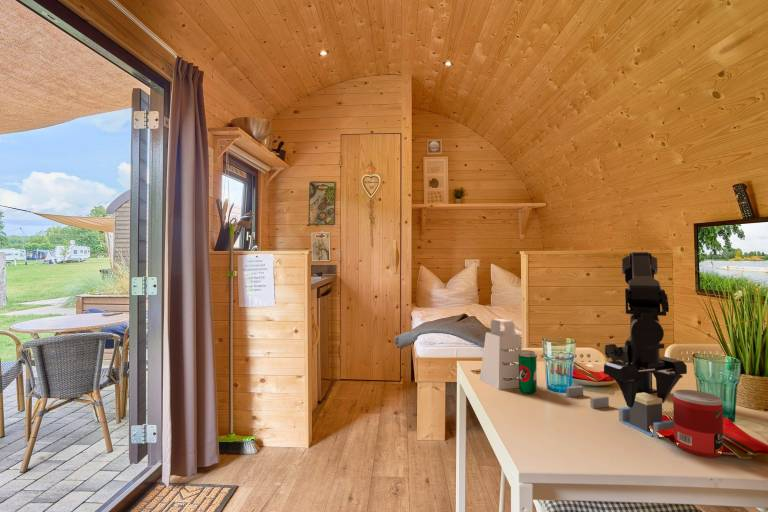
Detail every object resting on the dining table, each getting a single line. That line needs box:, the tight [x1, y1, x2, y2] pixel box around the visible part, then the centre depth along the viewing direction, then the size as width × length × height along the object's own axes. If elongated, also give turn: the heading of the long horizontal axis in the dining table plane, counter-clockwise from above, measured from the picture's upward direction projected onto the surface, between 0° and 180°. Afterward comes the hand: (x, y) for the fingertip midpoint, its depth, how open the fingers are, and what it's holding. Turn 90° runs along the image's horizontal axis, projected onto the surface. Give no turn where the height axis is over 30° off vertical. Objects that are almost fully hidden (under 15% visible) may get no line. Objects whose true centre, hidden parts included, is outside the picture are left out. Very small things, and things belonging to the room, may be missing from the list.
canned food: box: [672, 389, 724, 458], centre depth 82 cm, size 8×8×11 cm
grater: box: [479, 318, 523, 391], centre depth 126 cm, size 10×10×20 cm
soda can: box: [517, 349, 538, 395], centre depth 117 cm, size 5×5×12 cm
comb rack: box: [565, 385, 674, 439], centre depth 100 cm, size 6×28×3 cm, turn 16°
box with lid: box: [629, 392, 663, 432], centre depth 92 cm, size 5×5×7 cm
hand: (645, 404), depth 92 cm, fingers open, 9 cm apart
